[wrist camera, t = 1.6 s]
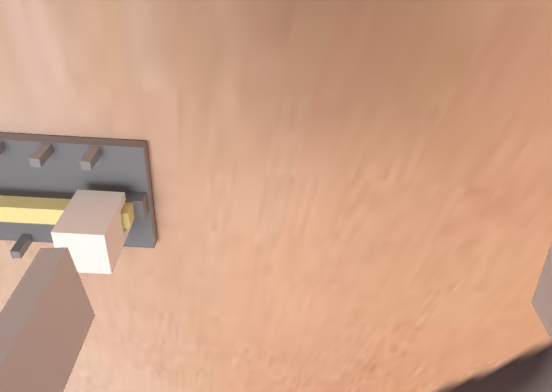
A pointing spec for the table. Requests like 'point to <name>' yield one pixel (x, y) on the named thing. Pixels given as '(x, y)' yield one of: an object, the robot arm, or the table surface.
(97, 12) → the table surface
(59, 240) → the sleeve
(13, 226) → the cable comb
